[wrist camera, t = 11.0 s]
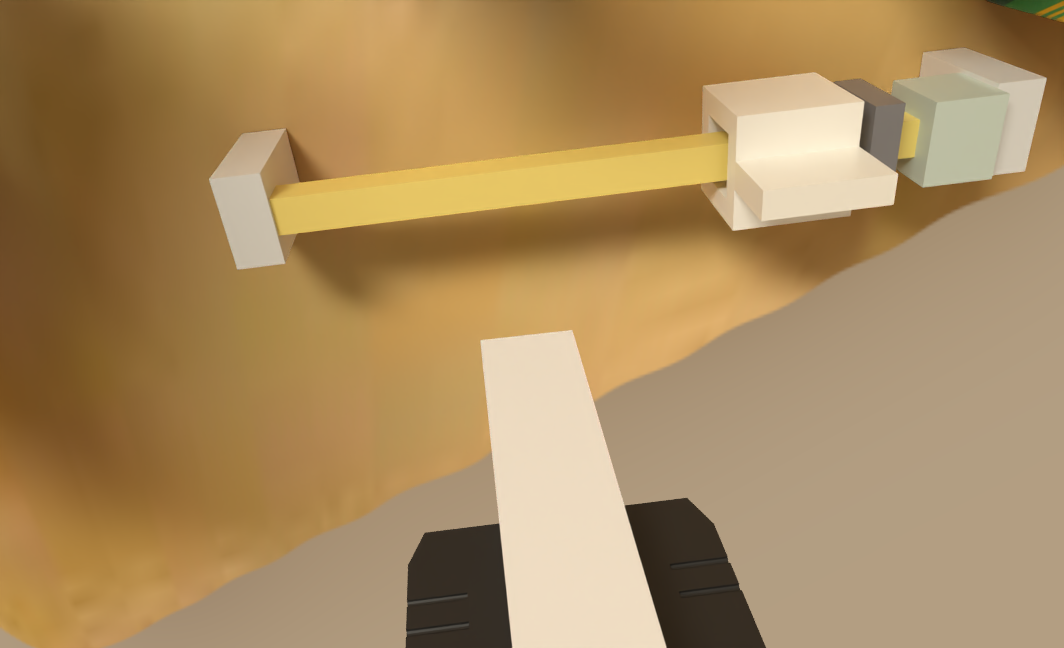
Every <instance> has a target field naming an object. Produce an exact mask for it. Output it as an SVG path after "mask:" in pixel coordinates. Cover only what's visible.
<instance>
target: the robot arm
mask: <svg viewBox="0 0 1064 648" xmlns="http://www.w3.org/2000/svg"><path fill="white" fill-rule="evenodd" d="M480 341H481V351H482V361H483V370H484V380H485V389H486V399H487V409H488V418H489V428H490V438H491V447H492V456H493V466H494V476H495V485H496V495H497V505H498V514H499V524H493V525H484V526H477V527H468V528H460V529H453V530H444V531H436V532H428V533H425V534H424V535H423V537H422V539H421V541H420V543H419V545H418V547H417V549H416V551H415V553H414V555H413V557H412V559H411V561H410V563H409V564H408V588H407V603H408V607H407V622H406V623H407V624H406V631H407V637H406V648H766V647H765V645H764V642H763V640H762V637H761V635H760V633H759V630H758V628H757V626H756V624H755V621H754V618H753V616H752V614H751V611H750V609H749V606H748V604H747V602H746V599H745V597H744V594H743V592H742V591H741V590H740V588H739V583H738V580H737V578H736V575H735V573H734V571H733V568H732V566H731V564H730V563H728V558H727V554H726V552H725V550H724V547H723V545H722V542H721V540H720V538H719V535H718V533H717V531H716V528H715V526H714V524H713V523H712V522H711V521H710V520H709V519H708V518H707V517H706V516H705V515H704V514H703V513H702V512H701V511H700V510H699V509H698V508H697V507H696V506H695V505H694V504H693V503H692V502H690V501H689V500H688V498H682V499H674V500H666V501H658V502H651V503H642V504H634V505H626V506H624V503H623V500H622V496H621V493H620V489H619V486H618V483H617V479H616V476H615V473H614V469H613V466H612V462H611V459H610V456H609V452H608V449H607V446H606V442H605V439H604V435H603V432H602V429H601V426H600V422H599V419H598V415H597V412H596V408H595V405H594V402H593V398H592V395H591V392H590V388H589V385H588V382H587V378H586V375H585V371H584V368H583V365H582V361H581V358H580V355H579V351H578V348H577V344H576V341H575V338H574V334H573V331H572V330H569V331H560V332H551V333H542V334H533V335H524V336H515V337H506V338H497V339H487V340H480Z"/></svg>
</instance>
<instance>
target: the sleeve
mask: <svg viewBox="0 0 1064 648" xmlns="http://www.w3.org/2000/svg"><path fill="white" fill-rule="evenodd" d="M863 110H864V101H863V100H861V99H860V98H858V97H856V96H855V95H853V94H851V93H849V92H848V91H846V90H844V89H843V88H841V87H839V86H838V85H836V84H834V83H832V82H831V81H829V80H827V79H826V78H824V77H822V76H821V75H819V74H817V73H815V72H813V73H805V74H796V75H788V76H780V77H771V78H763V79H755V80H746V81H738V82H729V83H721V84H713V85H704V86H703V99H702V134H704V133H712V132H721V131H726V132H727V133H728V134H729V136H728V165H727V180H725V181H717V182H709V183H701V190H702V191H703V192H704V194H705V195H706V196H707V198H708V199H709V200H710V202H711V203H712V204H713V206H714V207H715V208H716V209H717V211H718V212H719V213H720V215H721V216H722V217H723V219H724V220H725V221H726V223H727V224H728V225H729V226H730V228H731V229H732V230H733V231H735V230H743V229H751V228H759V227H767V226H775V225H783V224H791V223H799V222H807V221H815V220H823V219H830V218H838V217H846V216H851V210H856V209H864V208H872V207H880V206H887V205H894V199H895V192H896V186H897V179H898V173H896V172H895V171H893V170H892V169H890V168H889V167H888V166H886V165H885V164H883V163H882V162H880V161H879V160H878V159H876V158H875V157H873V156H872V155H871V154H869V153H868V152H866V151H865V150H863V149H862V148H861V147H859V143H860V134H861V126H862V118H863Z"/></svg>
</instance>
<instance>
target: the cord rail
mask: <svg viewBox="0 0 1064 648" xmlns="http://www.w3.org/2000/svg"><path fill="white" fill-rule="evenodd" d="M1046 80H1047V78H1046V77H1043V76H1040V75H1038V74H1035V73H1032V72H1030V71H1027V70H1024V69H1022V68H1019V67H1016V66H1013V65H1011V64H1008V63H1005V62H1003V61H1000V60H997V59H995V58H992V57H989V56H986V55H984V54H981V53H978V52H976V51H973V50H970V49H968V48H965V47H964V48H955V49H947V50H938V51H930V52H923V57H922V64H921V70H920V77H919V78H911V79H902V80H894V81H893V87H892V94H891V95H890V94H888V93H886V92H884V91H883V90H881V89H879V88H877V87H875V86H873V85H871V84H870V83H868V82H866V81H864V80H862V79H853V80H845V81H836V82H834V84H836V85H838V86H839V87H841V88H843V89H844V90H846V91H848V92H849V93H851V94H853V95H855V96H856V97H858V98H860V99H861V100H863V101H864V110H863V118H862V126H861V134H860V143H859V147H861V148H862V149H863V150H865V151H866V152H868V153H869V154H871V155H872V156H873V157H875V158H876V159H878V160H879V161H880V162H882V163H883V164H885V165H886V166H888V167H889V168H890V169H892V170H893V171H895V172H896V169H897V170H898V171H899V172H901V173H902V174H904V175H905V176H907V177H908V178H910V179H911V180H912V181H914V182H915V183H917V184H918V185H920V186H921V187H922V188H924V187H932V186H940V185H948V184H956V183H964V182H972V181H980V180H988V179H992V176H993V175H999V174H1007V173H1015V172H1023V171H1025V169H1026V164H1027V160H1028V156H1029V152H1030V148H1031V143H1032V139H1033V135H1034V131H1035V126H1036V122H1037V118H1038V114H1039V109H1040V105H1041V101H1042V97H1043V92H1044V88H1045V84H1046ZM728 136H729V134H728V133H727V132H726V131H721V132H712V133H704V134H696V135H688V136H679V137H671V138H663V139H655V140H647V141H638V142H630V143H622V144H614V145H605V146H597V147H589V148H581V149H573V150H564V151H556V152H548V153H540V154H531V155H523V156H515V157H507V158H499V159H490V160H482V161H474V162H466V163H457V164H449V165H441V166H433V167H425V168H416V169H408V170H400V171H392V172H383V173H375V174H367V175H359V176H350V177H342V178H334V179H326V180H318V181H309V182H301V183H300V182H299V178H298V174H297V170H296V166H295V162H294V158H293V154H292V150H291V146H290V143H289V139H288V135H287V131H286V128H284V129H276V130H268V131H259V132H251V133H242V134H241V136H240V137H239V139H238V140H237V141H236V143H235V144H234V145H233V147H232V148H231V150H230V151H229V152H228V154H227V155H226V156H225V158H224V159H223V161H222V162H221V163H220V165H219V166H218V167H217V169H216V170H215V172H214V173H213V174H212V176H211V177H210V178H209V181H210V184H211V188H212V191H213V194H214V197H215V200H216V203H217V207H218V210H219V213H220V216H221V219H222V222H223V225H224V229H225V232H226V235H227V238H228V241H229V244H230V247H231V251H232V254H233V257H234V260H235V263H236V266H237V270H239V269H247V268H255V267H263V266H271V265H279V264H285V263H286V261H287V258H288V256H289V253H290V250H291V248H292V245H293V243H294V240H295V238H296V235H297V233H305V232H313V231H321V230H329V229H337V228H345V227H353V226H361V225H369V224H378V223H386V222H394V221H402V220H410V219H418V218H426V217H434V216H442V215H450V214H458V213H466V212H475V211H483V210H491V209H499V208H507V207H515V206H523V205H531V204H539V203H547V202H555V201H563V200H572V199H580V198H588V197H596V196H604V195H612V194H620V193H628V192H636V191H644V190H652V189H660V188H669V187H677V186H685V185H693V184H701V183H709V182H717V181H725V180H727V165H728Z"/></svg>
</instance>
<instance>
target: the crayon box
mask: <svg viewBox="0 0 1064 648" xmlns="http://www.w3.org/2000/svg"><path fill="white" fill-rule="evenodd" d="M986 1H989V2H992V3H995V4H998V5H1001V6H1005V7H1009V8H1012V9H1016V10H1020V11H1023V12H1027V13H1031V14H1035V15H1038V16H1041V17H1045V18H1049V19H1052V20H1056V21H1059V22H1063V23H1064V0H986Z"/></svg>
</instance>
